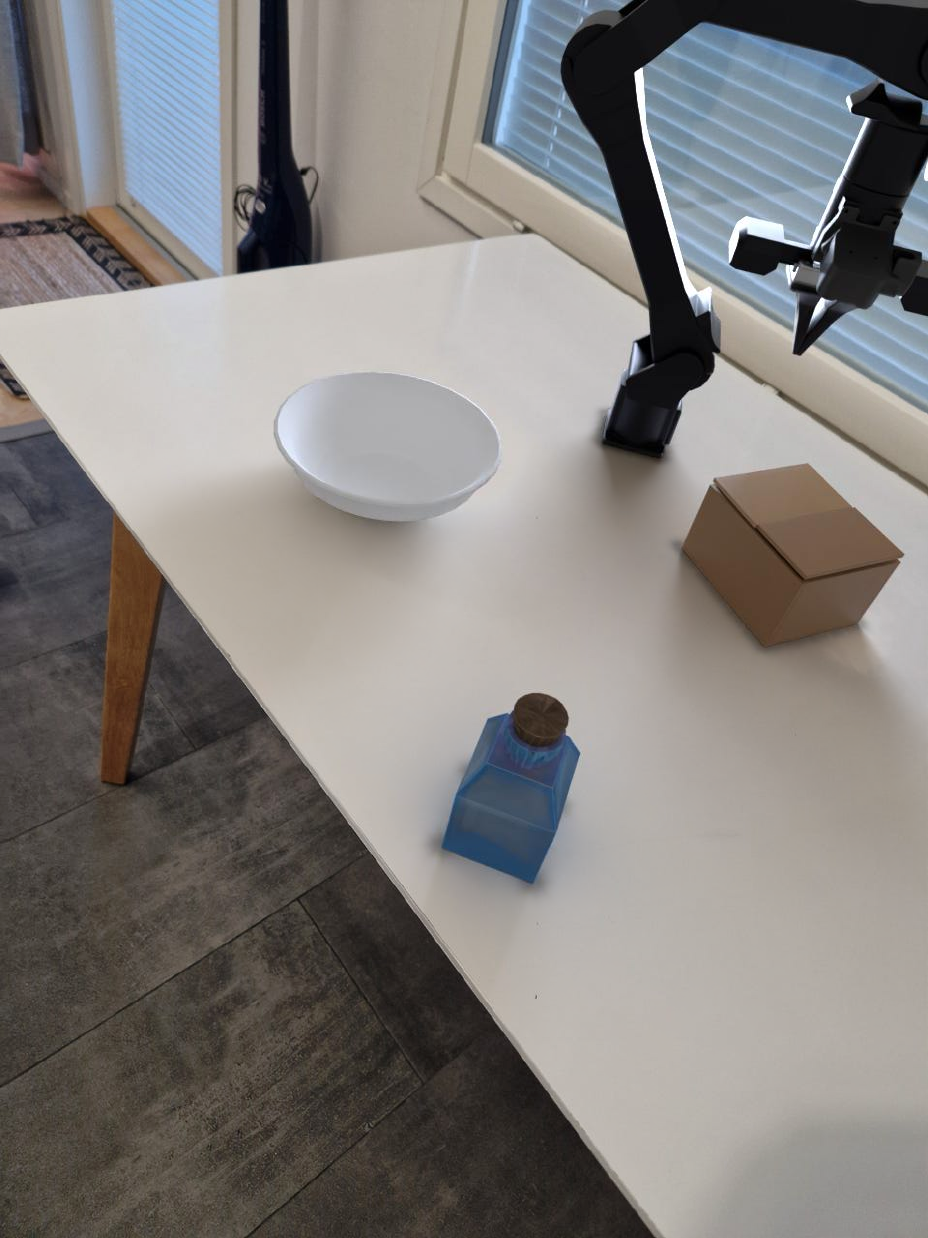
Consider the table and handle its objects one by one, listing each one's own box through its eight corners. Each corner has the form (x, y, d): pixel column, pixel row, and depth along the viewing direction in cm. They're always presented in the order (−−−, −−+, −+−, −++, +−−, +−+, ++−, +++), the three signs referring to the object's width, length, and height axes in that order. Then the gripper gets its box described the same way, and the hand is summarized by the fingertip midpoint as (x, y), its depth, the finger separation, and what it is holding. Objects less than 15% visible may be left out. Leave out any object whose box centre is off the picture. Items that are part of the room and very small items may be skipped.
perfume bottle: (557, 806, 59) (605, 695, 50) (533, 884, 54) (581, 777, 46) (472, 773, 59) (505, 658, 51) (441, 847, 55) (471, 736, 47)
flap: (712, 481, 75) (714, 477, 75) (806, 466, 79) (808, 462, 79) (754, 528, 71) (756, 524, 71) (850, 510, 75) (852, 506, 75)
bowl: (533, 505, 81) (548, 449, 77) (378, 597, 70) (385, 537, 65) (388, 405, 89) (394, 349, 85) (227, 473, 78) (224, 412, 73)
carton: (681, 548, 80) (713, 476, 75) (771, 530, 84) (807, 462, 79) (764, 647, 73) (806, 576, 67) (858, 623, 77) (906, 554, 71)
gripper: (769, 187, 67) (698, 369, 78) (1010, 246, 66) (904, 421, 77) (764, 145, 74) (701, 315, 85) (979, 197, 74) (887, 362, 85)
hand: (795, 353), depth 83 cm, fingers closed
